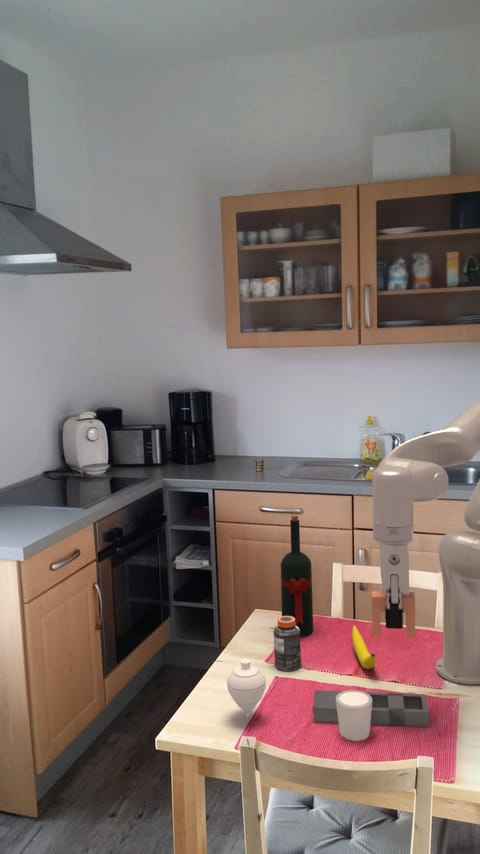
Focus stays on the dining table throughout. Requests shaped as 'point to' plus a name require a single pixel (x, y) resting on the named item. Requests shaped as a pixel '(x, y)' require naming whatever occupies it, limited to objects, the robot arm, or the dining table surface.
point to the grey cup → (354, 714)
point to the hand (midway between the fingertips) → (393, 623)
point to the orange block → (379, 606)
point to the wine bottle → (297, 583)
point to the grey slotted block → (378, 708)
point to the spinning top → (246, 686)
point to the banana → (362, 650)
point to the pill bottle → (287, 644)
